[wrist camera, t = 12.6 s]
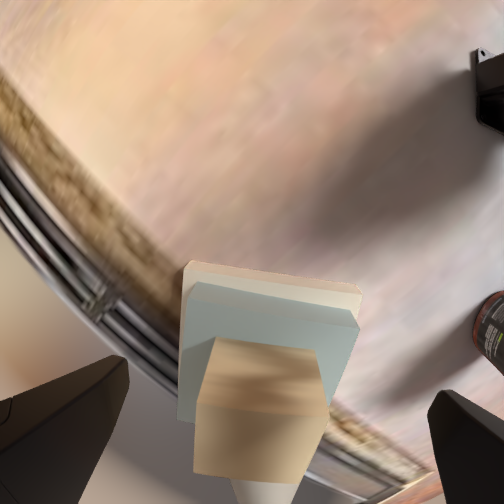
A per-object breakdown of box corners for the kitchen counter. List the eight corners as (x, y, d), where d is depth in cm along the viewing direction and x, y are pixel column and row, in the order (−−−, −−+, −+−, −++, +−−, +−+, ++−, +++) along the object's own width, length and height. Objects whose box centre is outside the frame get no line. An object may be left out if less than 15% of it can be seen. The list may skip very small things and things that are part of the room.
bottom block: (353, 281, 21) (363, 294, 18) (316, 402, 24) (320, 422, 21) (193, 257, 21) (183, 268, 18) (184, 384, 24) (177, 403, 21)
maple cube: (314, 349, 17) (330, 417, 11) (293, 417, 18) (299, 484, 13) (216, 336, 17) (196, 402, 11) (208, 406, 18) (193, 472, 13)
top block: (349, 309, 19) (360, 328, 16) (308, 418, 21) (311, 441, 19) (197, 281, 19) (187, 297, 16) (183, 397, 21) (176, 419, 19)
